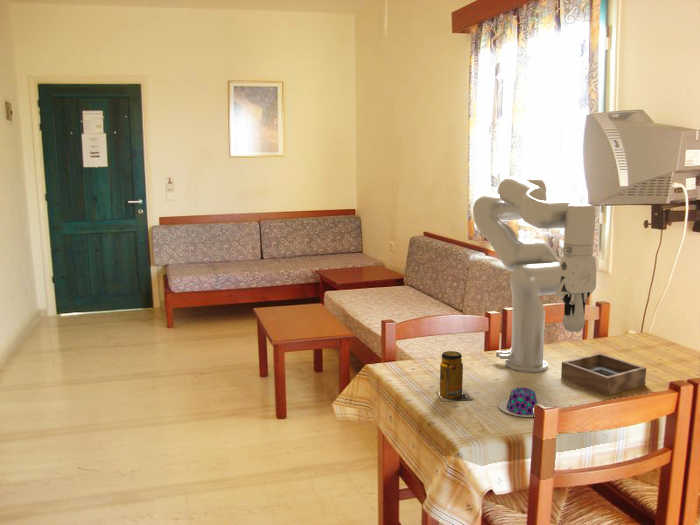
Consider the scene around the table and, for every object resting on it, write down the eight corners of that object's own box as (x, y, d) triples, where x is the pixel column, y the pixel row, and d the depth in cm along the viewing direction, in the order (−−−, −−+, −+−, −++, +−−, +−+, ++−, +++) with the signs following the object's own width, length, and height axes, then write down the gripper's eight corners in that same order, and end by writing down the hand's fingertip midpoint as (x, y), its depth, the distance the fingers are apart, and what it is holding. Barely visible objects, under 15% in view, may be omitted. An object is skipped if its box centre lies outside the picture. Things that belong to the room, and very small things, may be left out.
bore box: (607, 395, 181) (608, 378, 180) (561, 378, 194) (561, 361, 193) (645, 384, 189) (646, 367, 188) (598, 369, 202) (599, 353, 201)
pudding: (493, 414, 169) (494, 394, 169) (505, 398, 180) (505, 380, 179) (541, 422, 164) (542, 402, 163) (550, 406, 175) (551, 386, 174)
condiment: (435, 391, 184) (436, 350, 182) (465, 390, 185) (466, 348, 183) (442, 401, 177) (442, 358, 175) (473, 400, 178) (474, 357, 176)
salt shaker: (585, 333, 179) (588, 285, 176) (562, 332, 180) (565, 284, 178) (583, 327, 184) (586, 281, 182) (561, 326, 186) (564, 280, 183)
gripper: (566, 254, 171) (562, 324, 175) (611, 249, 179) (606, 316, 182) (545, 250, 178) (541, 317, 181) (589, 245, 185) (584, 310, 189)
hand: (574, 316), depth 182 cm, fingers closed on salt shaker, 3 cm apart
